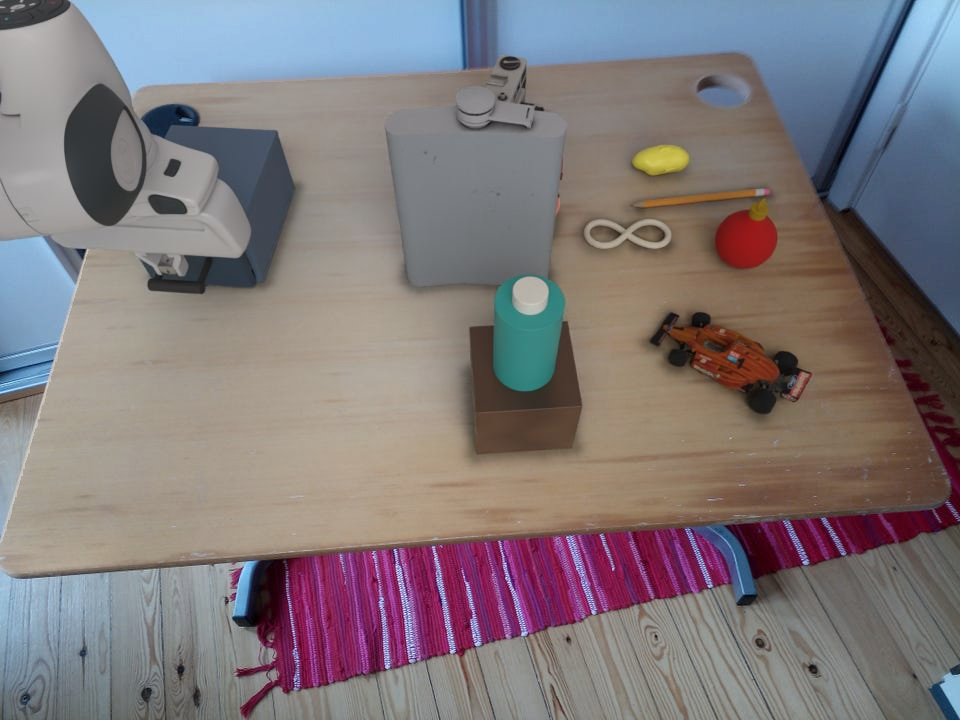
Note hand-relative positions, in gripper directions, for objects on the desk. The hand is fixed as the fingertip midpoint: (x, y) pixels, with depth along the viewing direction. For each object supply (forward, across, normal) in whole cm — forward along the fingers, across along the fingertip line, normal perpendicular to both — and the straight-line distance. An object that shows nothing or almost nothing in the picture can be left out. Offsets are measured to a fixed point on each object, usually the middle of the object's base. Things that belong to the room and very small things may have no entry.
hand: (174, 271), depth 74 cm
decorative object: (+7, +52, +16) cm, 54 cm away
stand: (+7, +39, -10) cm, 41 cm away
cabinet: (+7, 0, +13) cm, 15 cm away
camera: (+7, +36, +33) cm, 49 cm away
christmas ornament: (+7, +65, +13) cm, 67 cm away
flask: (+7, +33, +8) cm, 35 cm away
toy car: (+7, +62, -2) cm, 62 cm away
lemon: (+7, +56, +29) cm, 64 cm away
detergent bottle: (-2, +39, -10) cm, 41 cm away
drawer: (+6, 0, +9) cm, 11 cm away
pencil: (+7, +62, +23) cm, 66 cm away
